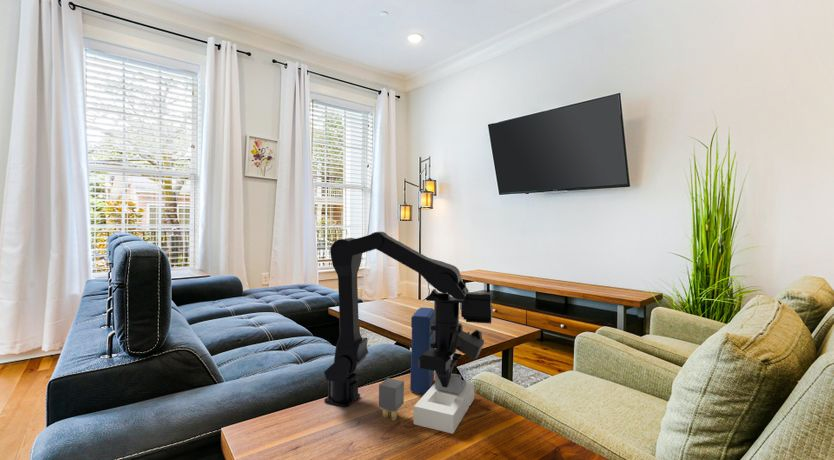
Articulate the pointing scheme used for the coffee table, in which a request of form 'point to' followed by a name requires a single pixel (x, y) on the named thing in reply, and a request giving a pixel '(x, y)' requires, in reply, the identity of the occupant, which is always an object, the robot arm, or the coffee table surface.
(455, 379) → the grey block
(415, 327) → the electronic device
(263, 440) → the coffee table surface
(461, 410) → the power strip
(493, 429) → the coffee table surface
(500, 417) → the coffee table surface
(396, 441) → the coffee table surface
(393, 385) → the plug
